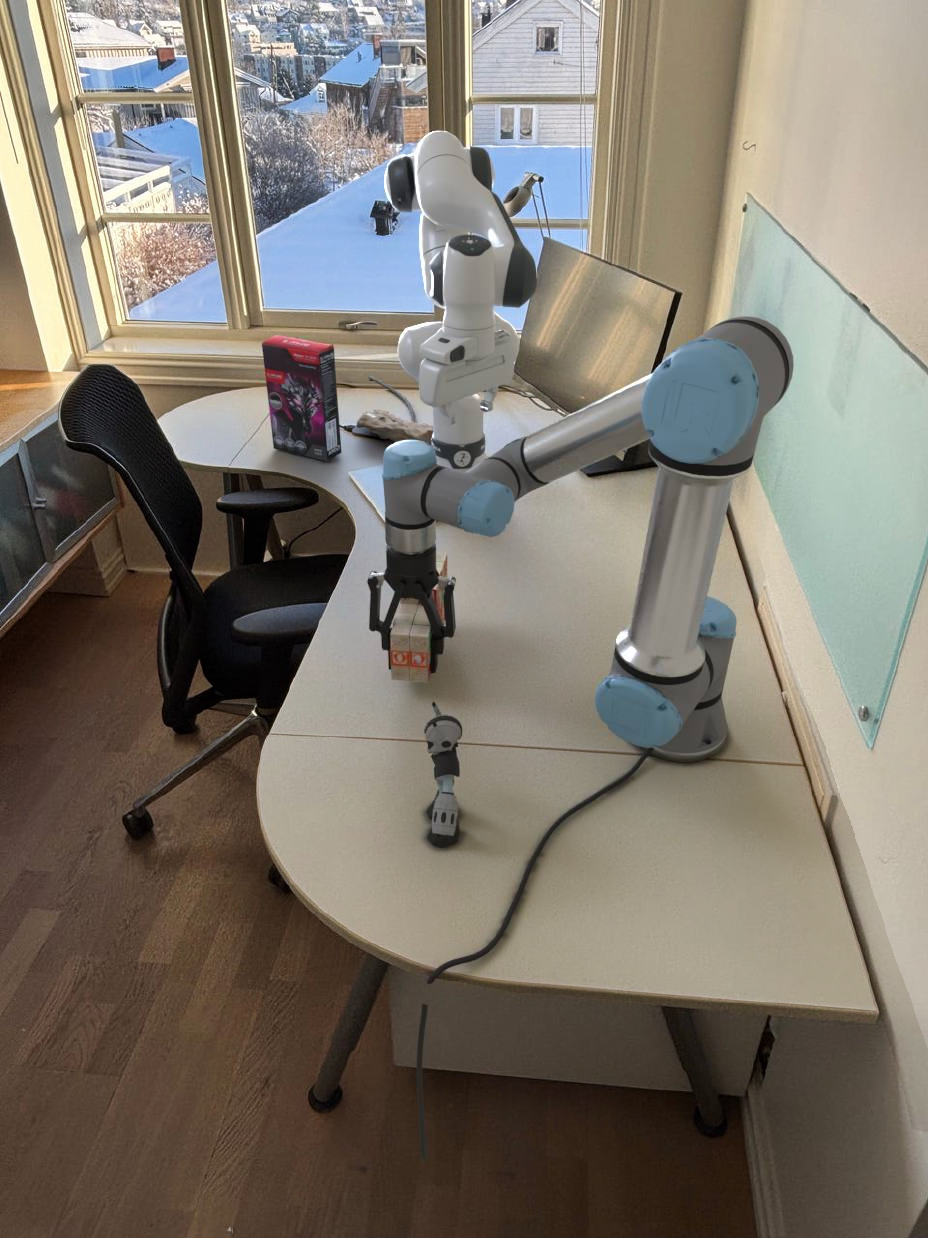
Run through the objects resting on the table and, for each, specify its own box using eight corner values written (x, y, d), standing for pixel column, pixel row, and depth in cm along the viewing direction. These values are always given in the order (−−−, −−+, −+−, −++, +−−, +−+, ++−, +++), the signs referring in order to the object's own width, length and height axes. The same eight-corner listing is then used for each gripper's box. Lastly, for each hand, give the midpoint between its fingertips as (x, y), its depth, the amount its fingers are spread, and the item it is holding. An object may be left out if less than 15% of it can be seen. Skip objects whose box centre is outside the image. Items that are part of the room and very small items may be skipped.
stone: (340, 433, 232) (345, 409, 229) (362, 424, 245) (367, 402, 243) (418, 457, 228) (423, 433, 226) (436, 447, 241) (441, 425, 239)
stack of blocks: (429, 684, 148) (428, 621, 141) (390, 681, 148) (387, 617, 141) (447, 611, 165) (447, 551, 158) (413, 608, 166) (411, 549, 159)
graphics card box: (271, 449, 231) (258, 341, 215) (288, 440, 236) (276, 333, 220) (327, 463, 224) (318, 352, 209) (343, 453, 229) (336, 344, 214)
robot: (465, 880, 118) (466, 765, 107) (427, 882, 118) (424, 766, 107) (458, 774, 134) (458, 664, 123) (424, 775, 134) (422, 665, 123)
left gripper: (497, 323, 164) (495, 398, 172) (412, 348, 152) (414, 427, 160) (523, 331, 161) (520, 407, 168) (438, 357, 149) (439, 437, 156)
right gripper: (477, 535, 140) (474, 658, 153) (353, 526, 142) (360, 648, 155) (471, 560, 134) (468, 685, 147) (342, 550, 135) (350, 675, 148)
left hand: (468, 417), depth 164 cm, fingers open, 8 cm apart
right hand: (413, 666), depth 151 cm, fingers closed on stack of blocks, 6 cm apart
